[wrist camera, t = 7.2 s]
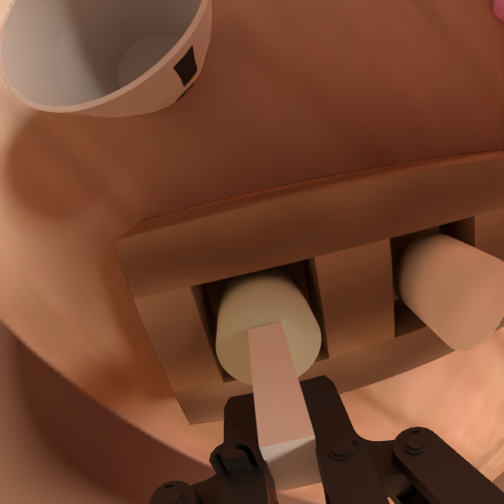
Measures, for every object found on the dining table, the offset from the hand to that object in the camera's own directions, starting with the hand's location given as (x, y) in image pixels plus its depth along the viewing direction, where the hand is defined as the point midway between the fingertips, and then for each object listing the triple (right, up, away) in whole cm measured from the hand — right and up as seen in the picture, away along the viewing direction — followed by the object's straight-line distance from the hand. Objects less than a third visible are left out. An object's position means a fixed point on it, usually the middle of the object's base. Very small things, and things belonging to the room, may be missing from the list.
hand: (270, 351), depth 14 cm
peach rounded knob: (+10, +3, +3) cm, 10 cm away
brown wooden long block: (+9, +4, +7) cm, 12 cm away
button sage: (0, +1, +4) cm, 4 cm away
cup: (-7, +15, +3) cm, 17 cm away
